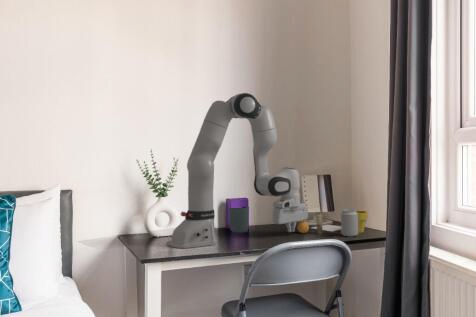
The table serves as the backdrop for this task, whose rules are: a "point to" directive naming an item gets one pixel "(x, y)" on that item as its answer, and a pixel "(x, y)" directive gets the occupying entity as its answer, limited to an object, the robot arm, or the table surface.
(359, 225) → the plant pot
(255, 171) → the robot arm
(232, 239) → the table surface
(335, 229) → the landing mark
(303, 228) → the ball
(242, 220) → the dark grey cylinder
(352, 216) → the can
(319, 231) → the right post
